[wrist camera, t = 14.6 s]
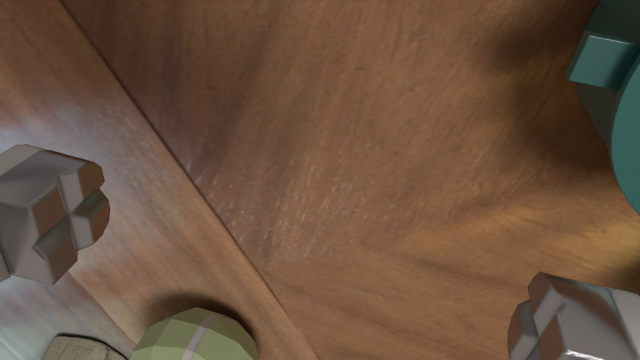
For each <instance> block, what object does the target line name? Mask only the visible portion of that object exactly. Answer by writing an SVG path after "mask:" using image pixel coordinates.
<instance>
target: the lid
mask: <svg viewBox="0 0 640 360" xmlns="http://www.w3.org/2000/svg"><path fill="white" fill-rule="evenodd" d="M608 146H609V157H610V162H611V167H612V171H613V174H614V176H615V179H616V181H617V184H618V186H619V188H620V190H621V191H622V193H623V194H624V196H625V198H626V199H627V201H628V202H629V204H630V205H631V206H632V208H633V209H634V210H635V211H636V212H637V213H638V214H639V215H640V54H639V55H638V57H637V59H636V60H635V62H634V63H633V65H632V67H631V68H630V70H629V72H628V73H627V75H626V77H625V79H624V81H623V84H622V86H621V88H620V90H619V92H618V95H617V97H616V101H615V104H614V107H613V111H612V114H611V119H610V126H609V133H608Z"/></svg>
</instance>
